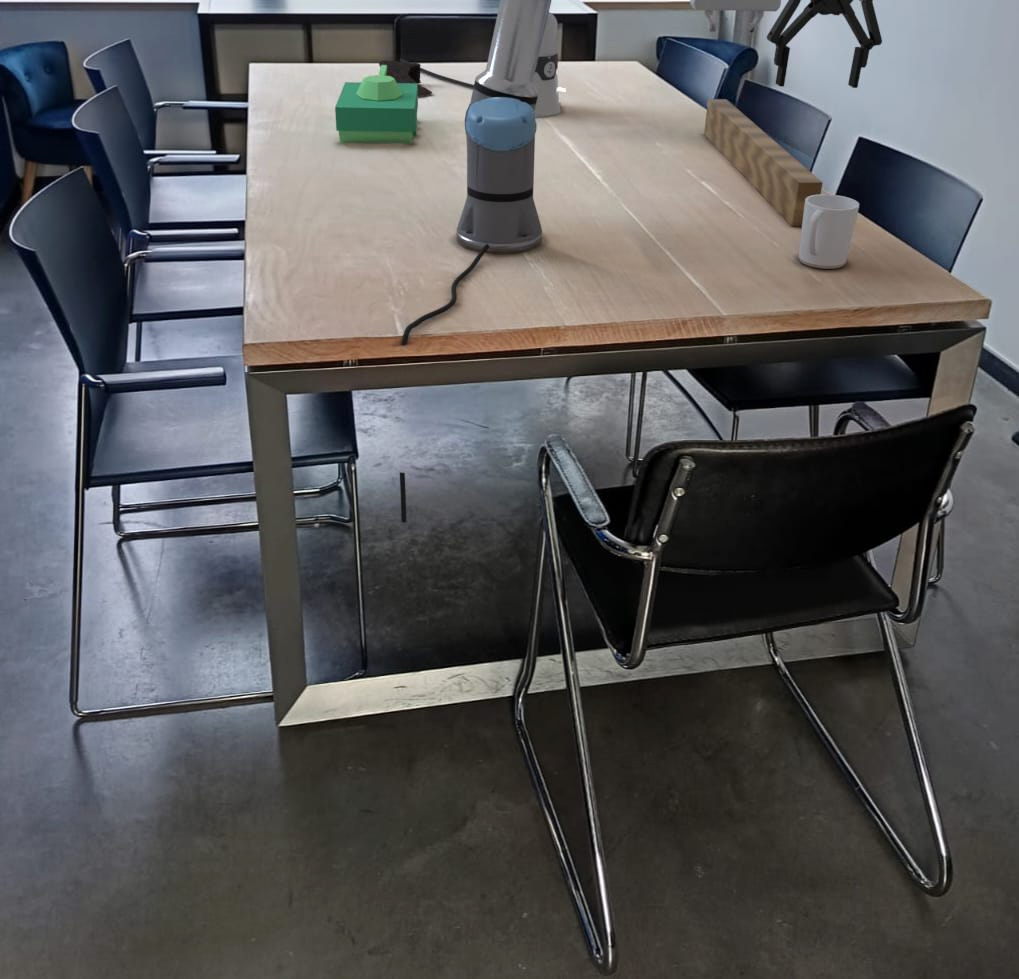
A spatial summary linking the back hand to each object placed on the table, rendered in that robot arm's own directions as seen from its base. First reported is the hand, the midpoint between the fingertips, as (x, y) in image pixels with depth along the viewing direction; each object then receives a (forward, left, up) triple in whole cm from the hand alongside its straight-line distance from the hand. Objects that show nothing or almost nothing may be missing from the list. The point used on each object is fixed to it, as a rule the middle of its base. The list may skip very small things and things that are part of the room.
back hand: (731, 31), depth 249 cm
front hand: (+49, -36, 0) cm, 61 cm away
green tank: (-56, -59, -24) cm, 85 cm away
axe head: (-87, -29, -24) cm, 95 cm away
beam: (+24, -18, -24) cm, 39 cm away
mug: (+67, -53, -24) cm, 89 cm away
